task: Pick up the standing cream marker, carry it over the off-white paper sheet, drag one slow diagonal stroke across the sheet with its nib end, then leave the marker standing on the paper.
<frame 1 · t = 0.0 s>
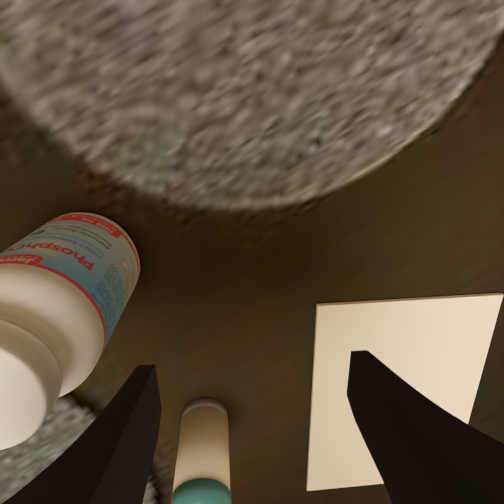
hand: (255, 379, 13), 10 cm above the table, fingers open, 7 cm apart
pill bottle: (91, 257, 22), on the table
paper: (393, 400, 28), on the table
marker: (205, 415, 27), on the table
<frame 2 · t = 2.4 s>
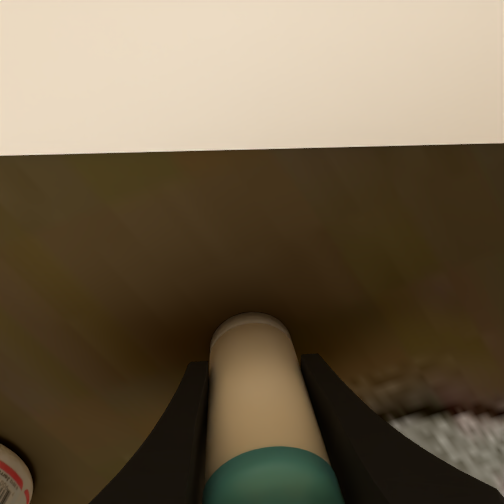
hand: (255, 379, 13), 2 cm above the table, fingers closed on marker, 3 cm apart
marker: (251, 347, 15), on the table, touching gripper
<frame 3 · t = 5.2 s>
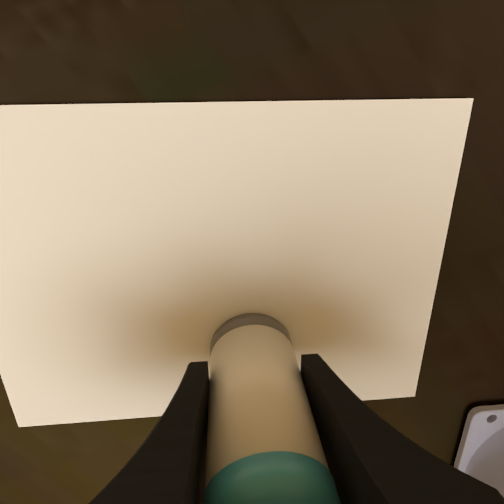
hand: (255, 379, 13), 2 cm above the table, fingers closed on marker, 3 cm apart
paper: (217, 280, 14), on the table
marker: (250, 347, 15), resting on paper, touching gripper
when the fingers open (3 cm above the table, at t = 8.2 s): marker stays where it is, resting on paper.
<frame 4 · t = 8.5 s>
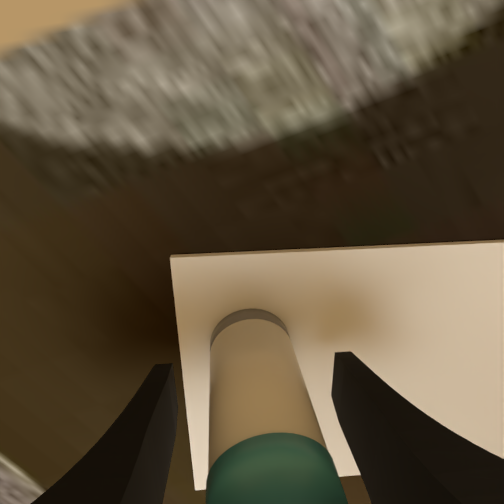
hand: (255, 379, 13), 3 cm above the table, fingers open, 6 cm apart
paper: (376, 372, 17), on the table
marker: (249, 343, 15), resting on paper
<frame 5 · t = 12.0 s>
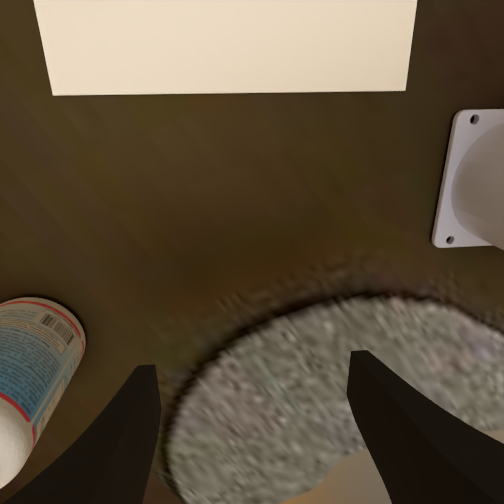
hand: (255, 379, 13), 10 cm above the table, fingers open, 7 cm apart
pill bottle: (40, 333, 23), on the table
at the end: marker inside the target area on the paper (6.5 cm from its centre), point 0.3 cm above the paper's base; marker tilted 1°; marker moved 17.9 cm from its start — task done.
